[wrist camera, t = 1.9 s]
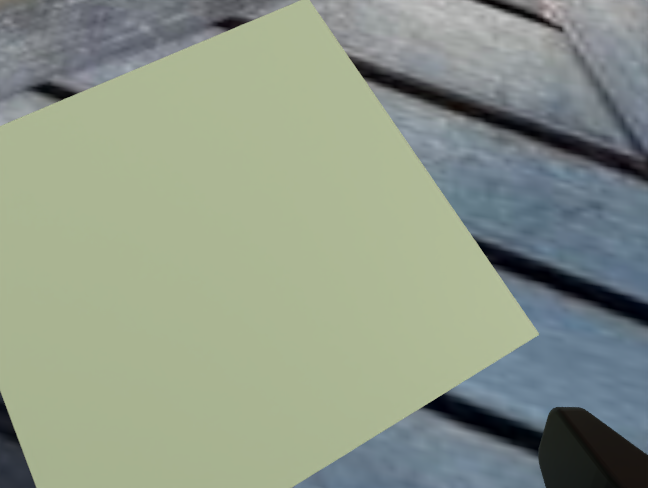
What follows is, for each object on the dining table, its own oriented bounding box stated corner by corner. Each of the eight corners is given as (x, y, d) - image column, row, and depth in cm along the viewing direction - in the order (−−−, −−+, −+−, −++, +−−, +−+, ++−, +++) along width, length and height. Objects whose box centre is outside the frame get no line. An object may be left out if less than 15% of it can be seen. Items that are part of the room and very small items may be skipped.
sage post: (379, 400, 17) (540, 334, 6) (236, 487, 16) (84, 616, 5) (302, 266, 18) (307, -3, 7) (165, 339, 17) (-86, 161, 6)
